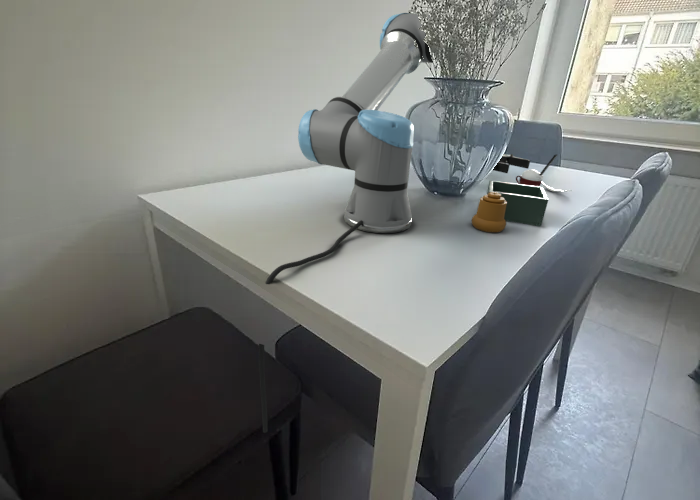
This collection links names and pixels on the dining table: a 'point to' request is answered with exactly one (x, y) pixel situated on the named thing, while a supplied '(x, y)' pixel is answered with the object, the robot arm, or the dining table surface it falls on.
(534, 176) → the cocoa
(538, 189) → the bin
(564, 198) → the dining table surface
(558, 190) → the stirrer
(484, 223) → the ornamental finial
